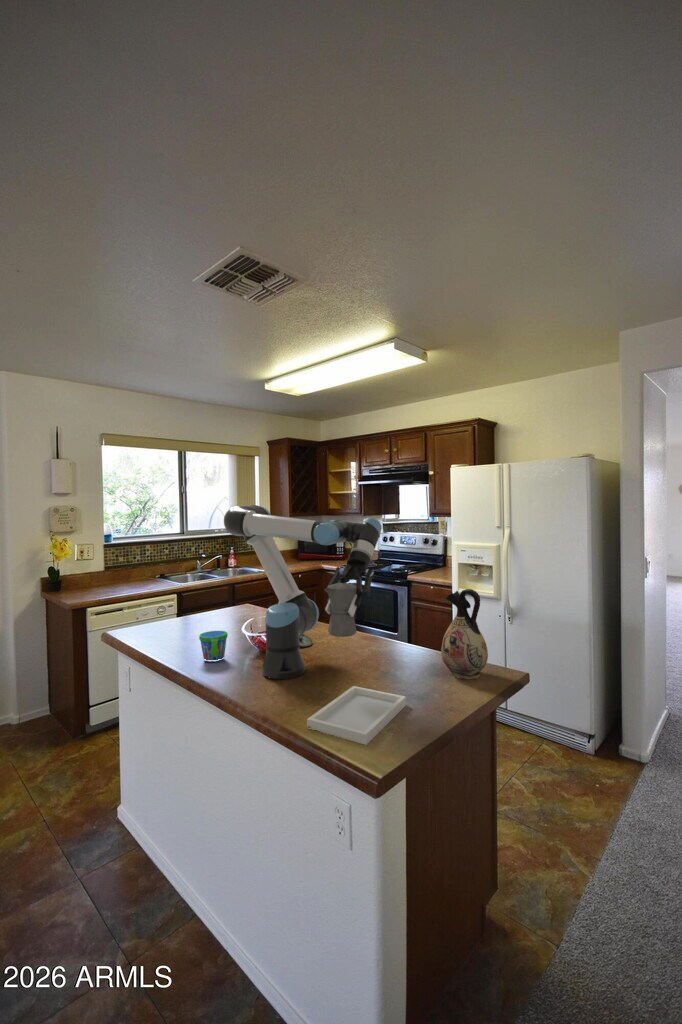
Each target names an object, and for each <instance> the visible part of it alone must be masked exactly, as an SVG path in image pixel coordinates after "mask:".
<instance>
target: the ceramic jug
mask: <svg viewBox="0 0 682 1024" xmlns="http://www.w3.org/2000/svg"><path fill="white" fill-rule="evenodd" d="M466 596H469V597H472V598H473V601H474V604H473V608H472V609H473V610H472V613H471V615H470V614H469V612H468V609H470V608H471V603H470V602H469V600H468V599H467V598H466ZM444 600H445V601H446V602H447V603H450V604H452V605H454V606H455V607H456V615H455V617H454V618H453V620H452V621H451V623H450V624H449V626H448V628H447V629H446V631H445V633H444V635H443V639H442V644H441V647H440V648H441V649H440V650H441V651H440V653H441V659H442V661H443V664H444V665H445V666H446V668H447V669H449V671H450V673H452V674H451V676H452V675H453V677H454V676H455V677H454V678H456V677H459V678H465V679H464V680H472V679H471V678H474V679H478V678H480V675H481V671H482V670H483V669H484V668H485V666H487V662H488V657H489V652H488V647H487V643H486V640H485V638H484V636H483V634H482V633H481V631H480V629H479V625H478V622H477V617H478V615H479V610H480V607H481V598H480V595H479V593H478V592H477V591H476V590H474V589H472V588H466V589H463V590H461V591H460V592H459V591H458V590H456V591H454V593H453V592H451V593H449V594H448V595H447V596H446V598H445V599H444ZM459 678H458V679H459Z"/></svg>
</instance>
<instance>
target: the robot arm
mask: <svg viewBox="0 0 682 1024" xmlns="http://www.w3.org/2000/svg"><path fill="white" fill-rule="evenodd" d="M223 526H224V528H225V530H226V531H227V532H228V533H229V534H230V535H232V536H235V537H243V538H244V539H243V540H244V541H245V543H246V544H247V545H249V546H252V548H253V550H254V552H255V553H256V556H257V558H258V560H259V562H260V564H261V566H262V568H263V570H264V573H265V574H266V576H267V578H268V581H269V583H270V585H271V586H272V589H273V591H274V594H275V595H276V597H277V599H278V602H277V603H276V604H273V605H271V606H269V607H268V608H267V609H266V611H265V639H266V640H265V642H266V645H265V647H266V649H265V650H266V651H265V655H264V657H263V661H262V666H261V675H262V674H263V675H264V676H267V677H270V678H275V679H274V680H289V678H290V679H293V678H298V677H300V676H301V675H303V674H304V673H305V671H306V667H305V666H306V665H305V662H304V659H303V656H302V653H301V651H300V647H299V635H301V634H305V633H306V632H308V631H310V630H311V629H312V628H313V627H314V626H316V624H317V623H318V620H319V616H320V610H319V607H318V606H317V604H316V603H315V601H313V600H311V599H310V598H308V596H307V593H305V591H303V590H300V589H299V587H298V585H297V583H296V581H295V579H294V577H293V575H292V574H291V571H290V570H289V566H288V565H287V563H286V561H285V559H284V557H283V556H282V553H281V551H280V549H279V547H278V545H277V544H276V541H275V539H274V538H279V539H287V540H295V541H303V542H311V543H317V544H319V545H322V546H331V545H334V544H339V543H349V544H353V545H352V548H351V550H350V553H349V555H348V558H347V560H346V565H345V566H344V567H340V566H337V567H336V569H335V572H334V574H333V576H332V577H331V579H330V581H329V583H328V584H327V586H326V588H328V586H329V585H333V584H337V583H341V581H340V578H341V577H344V578H345V581H344V583H349V582H350V581H352V580H353V581H356V582H355V583H356V585H357V590H356V594H355V596H354V598H353V600H352V602H351V605H350V608H349V611H348V613H349V614H350V616H351V617H353V616H354V617H355V613H356V611H357V608H359V607H360V606H361V602H362V599H363V598H369V597H370V593H371V587H372V586H371V585H372V580H373V578H374V577H375V572H374V570H373V569H372V568H369V567H370V564H371V560H372V557H373V555H374V552H375V550H376V546H377V544H378V541H379V538H380V537H381V532H382V529H383V526H382V524H381V522H380V521H379V520H377V519H376V518H374V517H367V518H364V519H363V520H362V522H350V521H346V520H345V521H344V520H341V519H330V520H329V521H322V520H312V519H303V518H296V517H286V516H278V515H272V514H271V512H270V511H269V510H268V509H267V508H266V507H264V506H262V505H261V506H260V505H256V504H253V505H252V504H251V505H235V506H232V507H231V508H229V509H228V510H227V511H226V512H225V514H224V517H223ZM273 537H274V538H273ZM364 576H365V579H364V584H363V577H364ZM362 585H363V586H364V588H362ZM326 602H327V603H326V606H325V609H324V610H325V612H326V613H327V615H331V613H332V607H331V604H330V597H329V595H328V596H327V599H326ZM263 675H262V676H263ZM264 676H263V677H264ZM267 677H266V678H267ZM270 678H269V679H270Z"/></svg>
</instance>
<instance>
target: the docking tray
mask: <svg viewBox="0 0 682 1024" xmlns="http://www.w3.org/2000/svg"><path fill="white" fill-rule="evenodd" d="M406 706H407V696H405V695H400V694H394V693H390V692H385V691H380V690H375V689H370V688H365V687H360V686H355V685H353V686H351V687H350V688H349V689H347V690H345V691H344V692H343V693H342V694H340V695H339V696H337V697H336V698H334V699H333V700H331V701H330V702H329V703H327V704H326V705H325V706H323V707H322V708H320V709H319V710H318V711H316V712H315V713H314V714H312V715H311V716H310V717H308V718H307V719H306V729H307V728H311V729H314V730H318V731H321V732H324V733H323V734H325V733H328V734H330V735H329V736H332V735H334V736H333V737H336V736H337V738H339V737H340V738H339V739H344V740H346V739H347V741H350V742H354V743H358V744H361V745H364V746H367V745H368V744H369V743H370V742H371V740H373V739H374V738H375V736H377V735H378V734H379V733H381V731H382V730H383V729H384V728H385V727H386V726H387V725H388V724H389V723H390V722H391V721H392V720H393V718H394V719H395V717H396V716H397V715H398V714H399V712H401V711H402V710H403V708H405V707H406ZM314 730H313V731H314ZM321 732H320V733H321ZM328 734H327V735H328Z"/></svg>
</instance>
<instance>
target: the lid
mask: <svg viewBox="0 0 682 1024" xmlns="http://www.w3.org/2000/svg"><path fill="white" fill-rule="evenodd" d="M310 645H311V646H312V645H313V641H312V639H311V637H309V636H308V635H306V634H305V633H302V634H301V635H299V648H308V647H307V646H309V647H310Z"/></svg>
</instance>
